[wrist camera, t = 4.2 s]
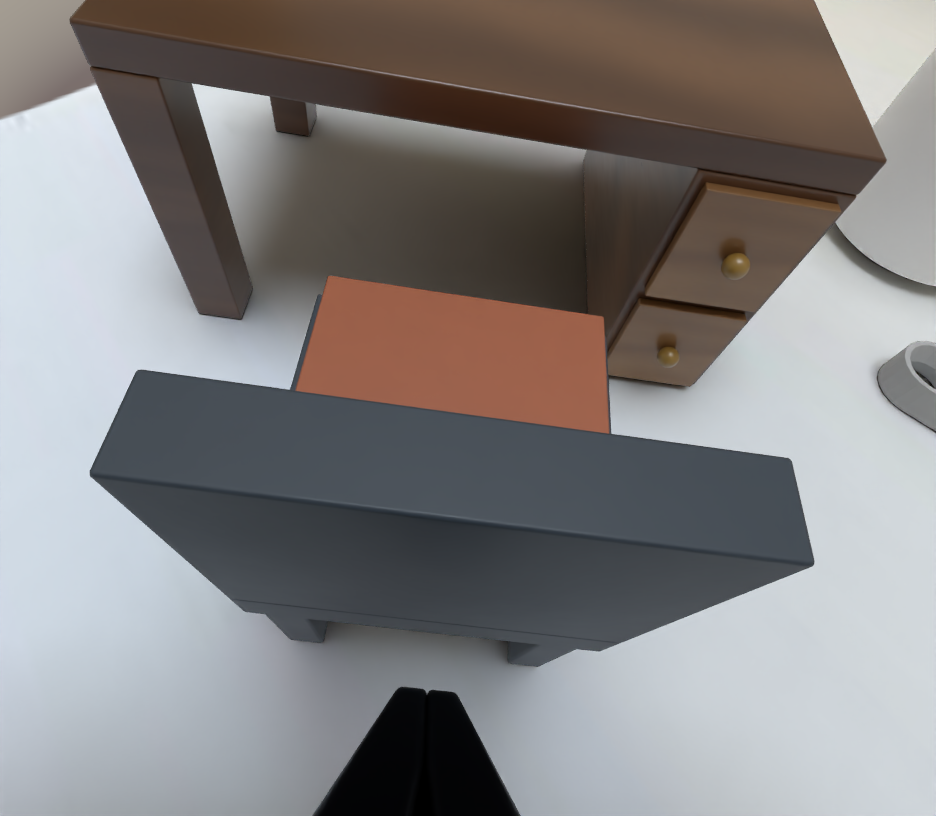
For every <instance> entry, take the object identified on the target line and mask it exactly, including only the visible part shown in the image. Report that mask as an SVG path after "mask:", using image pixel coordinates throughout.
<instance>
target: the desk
mask: <svg viewBox="0 0 936 816" xmlns="http://www.w3.org/2000/svg"><path fill="white" fill-rule="evenodd" d="M70 24H71V26H72V28H73V30H74V33H75V35H76V37H77V39H78V42H79V44H80V46H81V48H82V51H83V53H84V55H85V57H86V60H87V62H88V64H89V65H90V66H91V67H90V70H91V73H92V75H93V77H94V79H95V82H96V84H97V86H98V88H99V91H100V93H101V95H102V97H103V100H104V102H105V104H106V106H107V108H108V111H109V113H110V115H111V117H112V120H113V122H114V124H115V126H116V129H117V131H118V133H119V135H120V138H121V140H122V142H123V144H124V147H125V149H126V151H127V153H128V156H129V158H130V160H131V162H132V165H133V167H134V169H135V171H136V174H137V176H138V178H139V180H140V183H141V185H142V187H143V189H144V192H145V194H146V196H147V198H148V201H149V203H150V205H151V207H152V210H153V212H154V214H155V216H156V219H157V221H158V223H159V225H160V228H161V230H162V232H163V234H164V236H165V239H166V241H167V243H168V245H169V248H170V250H171V252H172V254H173V257H174V259H175V261H176V263H177V266H178V268H179V270H180V272H181V275H182V277H183V279H184V281H185V284H186V286H187V288H188V290H189V293H190V295H191V297H192V299H193V302H194V304H195V306H196V308H197V311H198V313H201V314H207V315H214V316H221V317H228V318H235V319H241V318H242V316H243V313H244V310H245V308H246V305H247V302H248V300H249V297H250V294H251V292H252V289H253V287H252V284H251V280H250V277H249V274H248V270H247V267H246V264H245V260H244V257H243V254H242V250H241V247H240V244H239V240H238V237H237V234H236V230H235V227H234V224H233V220H232V217H231V214H230V210H229V207H228V204H227V200H226V197H225V194H224V190H223V187H222V184H221V180H220V177H219V174H218V170H217V167H216V164H215V160H214V157H213V154H212V150H211V147H210V144H209V140H208V137H207V134H206V130H205V127H204V123H203V120H202V117H201V113H200V110H199V107H198V103H197V100H196V97H195V93H194V90H193V87H192V83H194V84H200V85H205V86H211V87H217V88H223V89H229V90H235V91H241V92H247V93H253V94H259V95H265V96H270V101H271V106H272V111H273V117H274V122H275V128H276V131H281V132H287V133H293V134H299V135H305V136H310V133H311V130H312V128H313V125H314V122H315V120H316V117H317V115H316V106H315V104H318V105H324V106H330V107H336V108H342V109H348V110H354V111H360V112H366V113H372V114H377V115H383V116H389V117H395V118H401V119H407V120H413V121H419V122H425V123H431V124H437V125H443V126H449V127H455V128H461V129H466V130H472V131H478V132H484V133H490V134H496V135H502V136H508V137H514V138H520V139H526V140H532V141H538V142H544V143H549V144H555V145H561V146H567V147H573V148H579V149H585V150H587V151H586V154H585V157H584V160H583V171H584V207H585V242H586V278H587V313H588V314H589V315H596V316H602V317H604V331H605V337H606V339H607V359H608V375H612V376H619V377H626V378H633V379H640V380H647V381H654V382H661V383H668V384H675V385H681V386H688V387H690V386H691V385H692V384H694V383H695V382H696V381H697V380H698V379H699V378H700V377H701V375H702V374H703V373H704V372H705V371H706V370H707V369H708V367H709V366H710V365H711V364H712V363H713V362H714V361H715V359H716V358H717V357H718V356H719V355H720V354H721V353H722V351H723V350H724V349H725V348H726V347H727V346H728V344H729V343H730V342H731V341H732V340H733V339H734V338H735V336H736V335H737V334H738V333H739V332H740V331H741V330H742V328H743V327H744V326H745V325H746V324H747V323H748V322H749V320H750V319H751V318H752V317H753V316H754V315H755V314H756V312H757V311H758V310H759V309H760V308H761V307H762V306H763V304H764V303H765V302H766V301H767V300H768V299H769V297H770V296H771V295H772V294H773V293H774V292H775V291H776V289H777V288H778V287H779V286H780V285H781V284H782V283H783V281H784V280H785V279H786V278H787V277H788V276H789V275H790V273H791V272H792V271H793V270H794V269H795V268H796V267H797V265H798V264H799V263H800V262H801V261H802V260H803V258H804V257H805V256H806V255H807V254H808V253H809V252H810V250H811V249H812V248H813V247H814V246H815V245H816V244H817V242H818V241H819V240H820V239H821V238H822V237H823V236H824V234H825V233H826V232H827V231H828V230H829V229H830V228H831V226H832V225H833V224H834V223H835V222H836V221H837V220H838V218H839V217H840V216H841V215H842V214H843V213H844V211H845V210H846V209H847V208H848V207H849V206H850V205H851V203H852V202H853V201H854V200H855V199H856V195H858V194H859V193H860V192H861V191H862V190H863V189H864V188H865V187H866V185H867V184H868V183H869V182H870V181H871V180H872V179H873V177H874V176H875V175H876V174H877V173H878V172H879V171H880V169H881V168H882V167H883V166H884V165H885V164H886V161H887V159H886V157H885V154H884V152H883V150H882V148H881V146H880V143H879V141H878V139H877V137H876V135H875V133H874V130H873V128H872V126H871V124H870V122H869V119H868V117H867V115H866V113H865V111H864V109H863V106H862V104H861V102H860V100H859V98H858V95H857V93H856V91H855V89H854V87H853V85H852V82H851V80H850V78H849V76H848V74H847V71H846V69H845V67H844V65H843V63H842V61H841V58H840V56H839V54H838V52H837V50H836V47H835V45H834V43H833V41H832V39H831V37H830V34H829V32H828V30H827V28H826V26H825V23H824V21H823V19H822V17H821V15H820V13H819V10H818V8H817V6H816V4H815V2H814V0H85V1H84V2H83V4H82V5H81V6H80V7H79V8H78V9H77V10H76V11H75V13H74V14H73V15H72V16H71V17H70Z"/></svg>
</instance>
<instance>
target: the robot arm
mask: <svg viewBox="0 0 936 816" xmlns="http://www.w3.org/2000/svg"><path fill="white" fill-rule="evenodd" d="M313 816H520V814H519V812H518V810H517V808H516V806H515V804H514V802H513V801H512V799H511V797H510V795H509V793H508V791H507V789H506V787H505V785H504V783H503V781H502V780H501V778H500V776H499V774H498V772H497V770H496V768H495V766H494V764H493V762H492V760H491V758H490V757H489V755H488V753H487V751H486V749H485V747H484V745H483V743H482V741H481V739H480V737H479V736H478V734H477V732H476V730H475V728H474V726H473V724H472V722H471V720H470V718H469V716H468V714H467V713H466V711H465V709H464V707H463V705H462V703H461V701H460V699H459V697H458V696H457V695H456V694H455V693H454V692H447V691H437V690H431V691H429V692H428V693H426V691H425V690H424V689H418V688H409V687H400V688H398V689H397V690H396V691H395V693H394V694H393V696H392V697H391V699H390V700H389V702H388V703H387V705H386V706H385V708H384V709H383V711H382V712H381V714H380V715H379V717H378V718H377V720H376V721H375V723H374V724H373V726H372V727H371V729H370V730H369V732H368V733H367V735H366V736H365V738H364V739H363V741H362V742H361V744H360V745H359V747H358V748H357V750H356V751H355V753H354V754H353V756H352V757H351V759H350V760H349V762H348V763H347V765H346V766H345V768H344V769H343V771H342V772H341V774H340V775H339V777H338V778H337V780H336V781H335V783H334V784H333V786H332V787H331V789H330V790H329V792H328V793H327V795H326V796H325V798H324V799H323V801H322V802H321V804H320V805H319V807H318V808H317V810H316V811H315V813H314V814H313Z"/></svg>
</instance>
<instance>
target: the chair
mask: <svg viewBox="0 0 936 816" xmlns="http://www.w3.org/2000/svg"><path fill="white" fill-rule="evenodd" d="M90 476H91V477H92V478H93V479H94V480H95V481H96V482H97V483H99V484H100V485H101V486H102V487H103V488H104V489H105V490H107V491H108V492H109V493H110V494H111V495H112V496H113V497H115V498H116V499H117V500H118V501H119V502H120V503H121V504H123V505H124V506H125V507H126V508H127V509H128V510H129V511H131V512H132V513H133V514H134V515H135V516H136V517H137V518H139V519H140V520H141V521H142V522H143V523H144V524H145V525H147V526H148V527H149V528H150V529H151V530H152V531H153V532H155V533H156V534H157V535H158V536H159V537H160V538H161V539H163V540H164V541H165V542H166V543H167V544H168V545H169V546H170V547H172V548H173V549H174V550H175V551H176V552H177V553H178V554H180V555H181V556H182V557H183V558H184V559H185V560H186V561H188V562H189V563H190V564H191V565H192V566H193V567H194V568H196V569H197V570H198V571H199V572H200V573H201V574H202V575H204V576H205V577H206V578H207V579H208V580H209V581H210V582H212V583H213V584H214V585H215V586H216V587H217V588H218V589H220V590H221V591H222V592H223V593H224V594H225V595H226V596H228V597H229V598H230V599H231V600H232V601H233V602H234V603H235V604H237V605H238V606H239V607H240V608H241V609H242V610H243V611H245V612H251V613H260V614H266V615H267V616H268V617H269V618H270V619H271V620H272V621H273V622H274V623H275V624H276V625H277V626H278V627H279V628H280V629H281V630H282V631H283V632H284V633H285V634H286V635H287V636H288V637H289V638H290V639H291V640H299V641H308V642H317V643H322V642H323V641H324V637H325V632H326V627H327V622H328V621H332V622H341V623H350V624H359V625H367V626H376V627H385V628H394V629H403V630H412V631H421V632H430V633H439V634H448V635H457V636H466V637H475V638H484V639H493V640H502V641H509V643H508V662H509V663H510V664H519V665H528V666H537V667H538V666H540V665H543V664H545V663H547V662H549V661H551V660H553V659H556V658H558V657H560V656H562V655H564V654H567V653H569V652H571V651H573V650H575V649H582V650H591V651H602V650H604V649H607V648H609V647H612V646H614V645H617V644H619V643H621V642H624V641H626V640H629V639H631V638H634V637H636V636H639V635H642V634H644V633H647V632H649V631H652V630H654V629H657V628H659V627H662V626H664V625H667V624H669V623H672V622H674V621H677V620H679V619H682V618H684V617H687V616H689V615H692V614H694V613H697V612H699V611H702V610H704V609H707V608H709V607H712V606H714V605H717V604H719V603H722V602H724V601H727V600H729V599H732V598H734V597H737V596H739V595H742V594H744V593H747V592H749V591H752V590H754V589H757V588H759V587H762V586H764V585H767V584H769V583H772V582H774V581H777V580H779V579H782V578H784V577H787V576H789V575H792V574H794V573H797V572H799V571H802V570H804V569H807V568H809V567H812V566H813V565H814V557H813V553H812V548H811V544H810V540H809V535H808V531H807V526H806V522H805V518H804V513H803V509H802V504H801V500H800V495H799V491H798V487H797V482H796V478H795V473H794V469H793V465H792V461H791V460H790V459H789V458H784V457H776V456H769V455H762V454H754V453H747V452H740V451H732V450H725V449H718V448H711V447H703V446H696V445H689V444H681V443H674V442H667V441H659V440H652V439H645V438H637V437H630V436H623V435H615V434H611V420H610V400H609V379H608V359H607V339H606V337H605V331H604V317H602V316H596V315H589V314H583V313H576V312H569V311H563V310H556V309H549V308H543V307H536V306H529V305H523V304H516V303H509V302H503V301H496V300H489V299H483V298H476V297H469V296H463V295H456V294H449V293H443V292H436V291H429V290H423V289H416V288H409V287H403V286H396V285H389V284H383V283H376V282H369V281H363V280H356V279H349V278H343V277H336V276H328V278H327V281H326V285H325V288H324V292H323V295H320V294H319V295H318V296H317V299H316V303H315V306H314V310H313V313H312V316H311V320H310V323H309V327H308V330H307V334H306V337H305V340H304V344H303V347H302V351H301V354H300V358H299V361H298V364H297V368H296V371H295V375H294V378H293V382H292V385H291V388H290V390H286V389H279V388H272V387H264V386H257V385H250V384H242V383H235V382H228V381H221V380H213V379H206V378H199V377H191V376H184V375H177V374H169V373H162V372H155V371H147V370H138V371H137V372H136V373H135V375H134V377H133V379H132V381H131V384H130V386H129V388H128V390H127V392H126V394H125V397H124V399H123V401H122V403H121V405H120V407H119V409H118V412H117V414H116V416H115V418H114V420H113V422H112V424H111V427H110V429H109V431H108V433H107V435H106V437H105V440H104V442H103V444H102V446H101V448H100V450H99V452H98V455H97V457H96V459H95V461H94V463H93V465H92V467H91V470H90Z"/></svg>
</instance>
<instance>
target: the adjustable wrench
mask: <svg viewBox="0 0 936 816" xmlns="http://www.w3.org/2000/svg"><path fill="white" fill-rule="evenodd" d="M915 371H917V372H919V373H920V374H922V375H923V376H924V377H926V378H927V379H928V380H929V381H930V382H931V384H932V385H933V386H934V388H932V387H931V386H930V385H928V384H927V383H926V382H924V381H923V380H922V379H921V378H920V377H919V376H918V375H917V373H916V372H915ZM878 381H879V386H880V387H881V389H882V391H883V393H884V395H885V396H886V397H887V398H888V399H889V400H890V401H891V403H893V404H894V405H895V406H897V407H898V408H899V409H901V410H902V411H904V412H905V413H907V414H909V415H910V416H912V417H913V418H915V419H917V420H918V421H920V422H922V423H923V424H925V425H926V426H928V427H930V428H931V429H933V430H934V431H936V343H933V342H929V341H917V342H915V343H912V344H910V345H909V346H907V347H906V348H905V349H904V350H902V351H901V352H900V353H898V354H897V355H896V356H894V357H893V358H892V359H890V360H889V361H888V362H887V363H885V364H884V365H883V366H882V367H881V368H880V369H879V373H878Z"/></svg>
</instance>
